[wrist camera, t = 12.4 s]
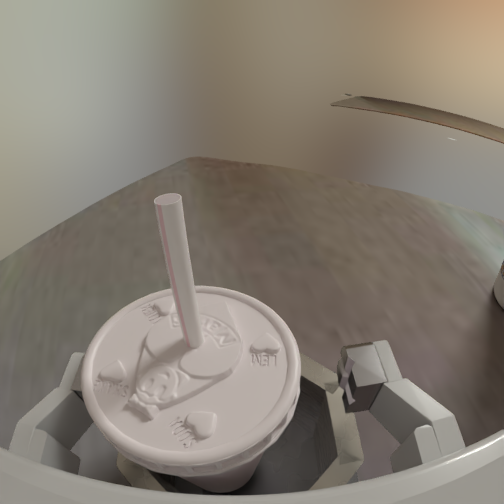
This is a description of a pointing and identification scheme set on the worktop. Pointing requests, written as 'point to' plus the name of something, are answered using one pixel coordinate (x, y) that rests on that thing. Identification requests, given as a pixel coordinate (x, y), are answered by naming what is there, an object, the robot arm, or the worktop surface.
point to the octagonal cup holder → (288, 447)
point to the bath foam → (500, 286)
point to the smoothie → (192, 374)
